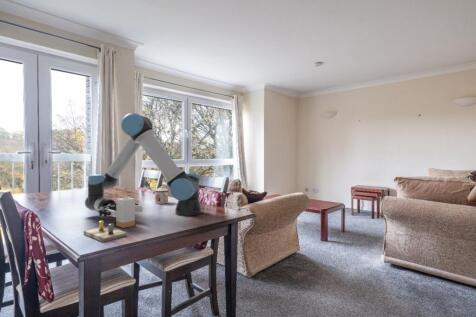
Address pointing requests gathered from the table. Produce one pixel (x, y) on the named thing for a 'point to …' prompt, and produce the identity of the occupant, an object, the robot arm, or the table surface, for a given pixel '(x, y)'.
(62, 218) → the table surface
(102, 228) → the brass pin
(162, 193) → the wooden birdhouse
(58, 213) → the table surface
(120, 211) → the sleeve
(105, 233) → the pin board
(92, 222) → the table surface
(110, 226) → the steel pin
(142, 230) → the table surface
